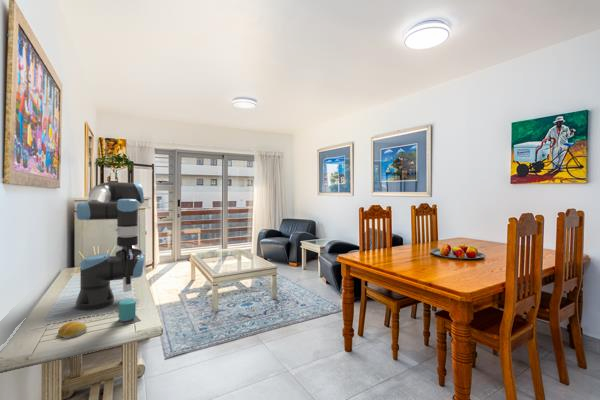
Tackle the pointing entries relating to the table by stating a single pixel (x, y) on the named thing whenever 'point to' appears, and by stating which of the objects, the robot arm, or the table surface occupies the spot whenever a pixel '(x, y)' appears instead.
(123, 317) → the teal toy brick
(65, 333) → the bread roll
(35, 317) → the table surface
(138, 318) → the panel
